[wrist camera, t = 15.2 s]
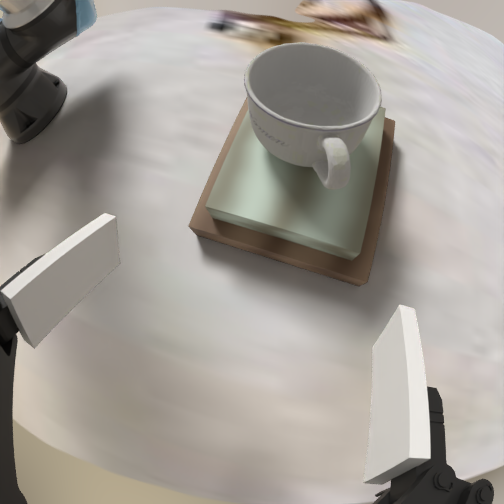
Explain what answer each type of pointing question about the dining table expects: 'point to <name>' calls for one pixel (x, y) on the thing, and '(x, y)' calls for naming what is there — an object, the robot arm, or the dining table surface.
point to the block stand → (298, 204)
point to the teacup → (311, 106)
